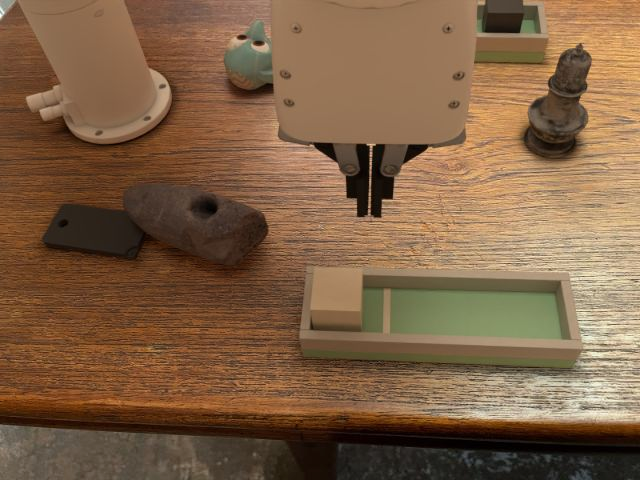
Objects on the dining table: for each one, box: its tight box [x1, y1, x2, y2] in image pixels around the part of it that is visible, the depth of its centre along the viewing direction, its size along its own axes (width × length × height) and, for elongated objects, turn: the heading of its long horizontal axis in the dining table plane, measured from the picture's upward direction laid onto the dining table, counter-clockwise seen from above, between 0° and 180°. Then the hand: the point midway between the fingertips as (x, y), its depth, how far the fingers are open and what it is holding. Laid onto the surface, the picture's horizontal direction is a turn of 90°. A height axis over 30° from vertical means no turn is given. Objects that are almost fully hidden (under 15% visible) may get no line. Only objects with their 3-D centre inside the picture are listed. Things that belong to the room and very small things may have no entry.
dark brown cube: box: [482, 0, 524, 33], centre depth 71 cm, size 4×4×4 cm
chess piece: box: [523, 42, 593, 159], centre depth 60 cm, size 6×6×12 cm
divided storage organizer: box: [298, 265, 584, 369], centre depth 51 cm, size 22×7×4 cm, turn 85°
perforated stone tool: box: [122, 182, 269, 267], centre depth 57 cm, size 15×5×7 cm, turn 65°
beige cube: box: [310, 267, 363, 332], centre depth 51 cm, size 4×4×4 cm
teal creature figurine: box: [223, 19, 273, 91], centre depth 72 cm, size 11×7×12 cm
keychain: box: [41, 203, 148, 260], centre depth 61 cm, size 5×1×10 cm
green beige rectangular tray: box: [474, 0, 550, 64], centre depth 74 cm, size 22×7×4 cm, turn 83°
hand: (369, 200), depth 40 cm, fingers closed
